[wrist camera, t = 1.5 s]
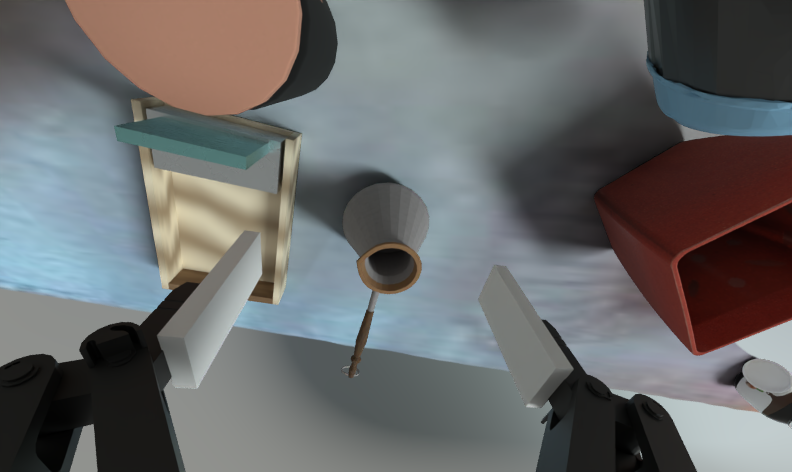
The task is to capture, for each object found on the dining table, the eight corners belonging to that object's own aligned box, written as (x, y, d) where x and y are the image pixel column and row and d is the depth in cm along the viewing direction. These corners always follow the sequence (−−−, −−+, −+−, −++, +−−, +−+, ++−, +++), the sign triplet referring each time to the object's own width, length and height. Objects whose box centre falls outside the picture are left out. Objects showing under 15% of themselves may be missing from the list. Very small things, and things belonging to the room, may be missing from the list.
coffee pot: (357, 163, 35) (348, 215, 22) (438, 190, 38) (473, 250, 25) (320, 288, 45) (299, 374, 32) (388, 302, 48) (393, 387, 35)
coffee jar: (353, 5, 27) (329, -85, 12) (321, 112, 32) (272, 148, 17) (239, -61, 25) (12, -292, 9) (221, 67, 29) (50, 59, 14)
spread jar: (743, 387, 71) (804, 439, 61) (711, 382, 69) (769, 435, 59) (787, 358, 66) (862, 409, 56) (754, 351, 63) (827, 403, 53)
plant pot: (597, 273, 48) (696, 360, 33) (561, 190, 39) (671, 258, 25) (719, 210, 43) (895, 280, 28) (707, 101, 35) (949, 120, 20)
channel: (158, 96, 30) (130, 99, 27) (301, 133, 33) (293, 140, 30) (180, 270, 41) (162, 288, 38) (285, 286, 44) (278, 304, 41)
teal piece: (166, 105, 30) (94, 116, 22) (288, 136, 32) (261, 156, 24) (172, 159, 33) (110, 186, 25) (284, 184, 35) (259, 216, 27)
